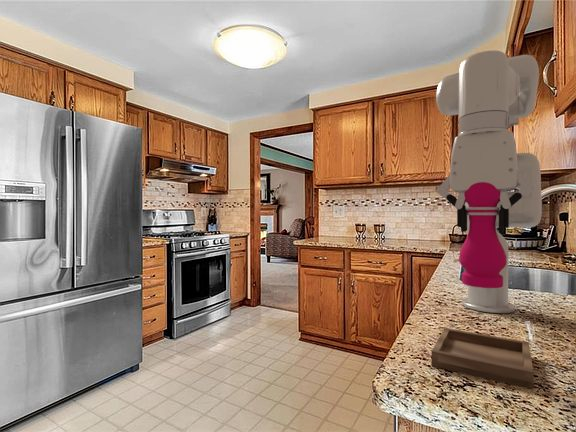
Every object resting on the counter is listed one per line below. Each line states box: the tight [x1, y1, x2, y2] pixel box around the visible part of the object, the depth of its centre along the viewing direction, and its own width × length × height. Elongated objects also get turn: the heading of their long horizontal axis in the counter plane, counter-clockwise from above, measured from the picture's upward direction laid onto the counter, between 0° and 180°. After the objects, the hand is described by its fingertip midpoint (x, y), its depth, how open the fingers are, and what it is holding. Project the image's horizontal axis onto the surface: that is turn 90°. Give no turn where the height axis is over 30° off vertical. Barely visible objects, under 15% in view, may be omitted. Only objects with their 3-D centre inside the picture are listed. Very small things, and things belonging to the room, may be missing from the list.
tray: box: [430, 327, 534, 390], centre depth 59 cm, size 14×14×2 cm
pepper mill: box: [458, 182, 507, 288], centre depth 59 cm, size 7×7×20 cm
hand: (482, 230), depth 59 cm, fingers closed on pepper mill, 5 cm apart
